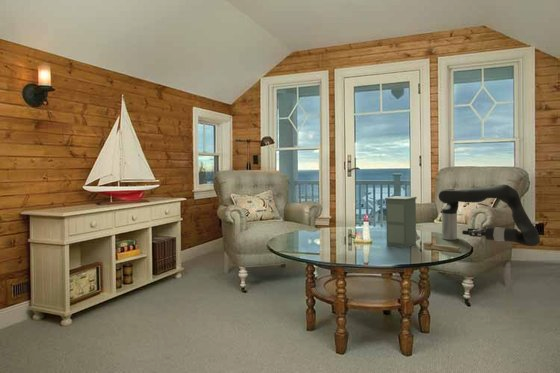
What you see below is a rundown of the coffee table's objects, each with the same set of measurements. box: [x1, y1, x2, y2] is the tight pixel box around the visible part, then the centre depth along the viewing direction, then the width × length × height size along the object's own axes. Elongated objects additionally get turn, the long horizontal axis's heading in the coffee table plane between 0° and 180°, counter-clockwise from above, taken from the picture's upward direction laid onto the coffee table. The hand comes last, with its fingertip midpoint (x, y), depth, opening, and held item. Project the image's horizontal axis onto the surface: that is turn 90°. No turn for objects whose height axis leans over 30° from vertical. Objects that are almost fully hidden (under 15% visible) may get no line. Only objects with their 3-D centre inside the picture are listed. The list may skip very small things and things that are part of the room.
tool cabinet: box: [384, 195, 417, 249], centre depth 261 cm, size 15×14×30 cm
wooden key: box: [422, 241, 461, 253], centre depth 245 cm, size 5×20×4 cm, turn 48°
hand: (465, 231), depth 235 cm, fingers open, 8 cm apart
